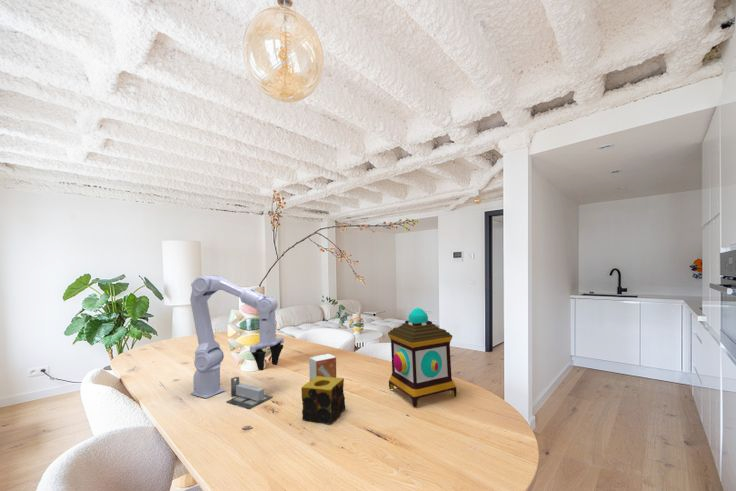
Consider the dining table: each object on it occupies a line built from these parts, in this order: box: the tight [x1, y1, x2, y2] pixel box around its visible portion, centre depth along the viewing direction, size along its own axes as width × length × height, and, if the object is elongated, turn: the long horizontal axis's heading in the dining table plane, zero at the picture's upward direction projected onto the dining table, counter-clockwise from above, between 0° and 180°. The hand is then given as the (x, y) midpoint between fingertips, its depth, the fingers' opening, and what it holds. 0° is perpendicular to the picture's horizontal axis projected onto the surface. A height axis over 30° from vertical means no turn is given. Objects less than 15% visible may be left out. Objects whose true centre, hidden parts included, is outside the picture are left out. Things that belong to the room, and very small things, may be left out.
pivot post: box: [230, 376, 240, 398], centre depth 113 cm, size 3×3×6 cm
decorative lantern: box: [387, 307, 458, 408], centre depth 109 cm, size 20×20×30 cm
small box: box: [308, 353, 337, 381], centre depth 111 cm, size 8×6×13 cm
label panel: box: [225, 394, 274, 410], centre depth 108 cm, size 12×10×1 cm
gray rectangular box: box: [236, 383, 265, 401], centre depth 109 cm, size 12×2×3 cm, turn 60°
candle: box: [301, 376, 346, 425], centre depth 95 cm, size 10×10×10 cm
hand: (268, 367), depth 114 cm, fingers open, 6 cm apart
